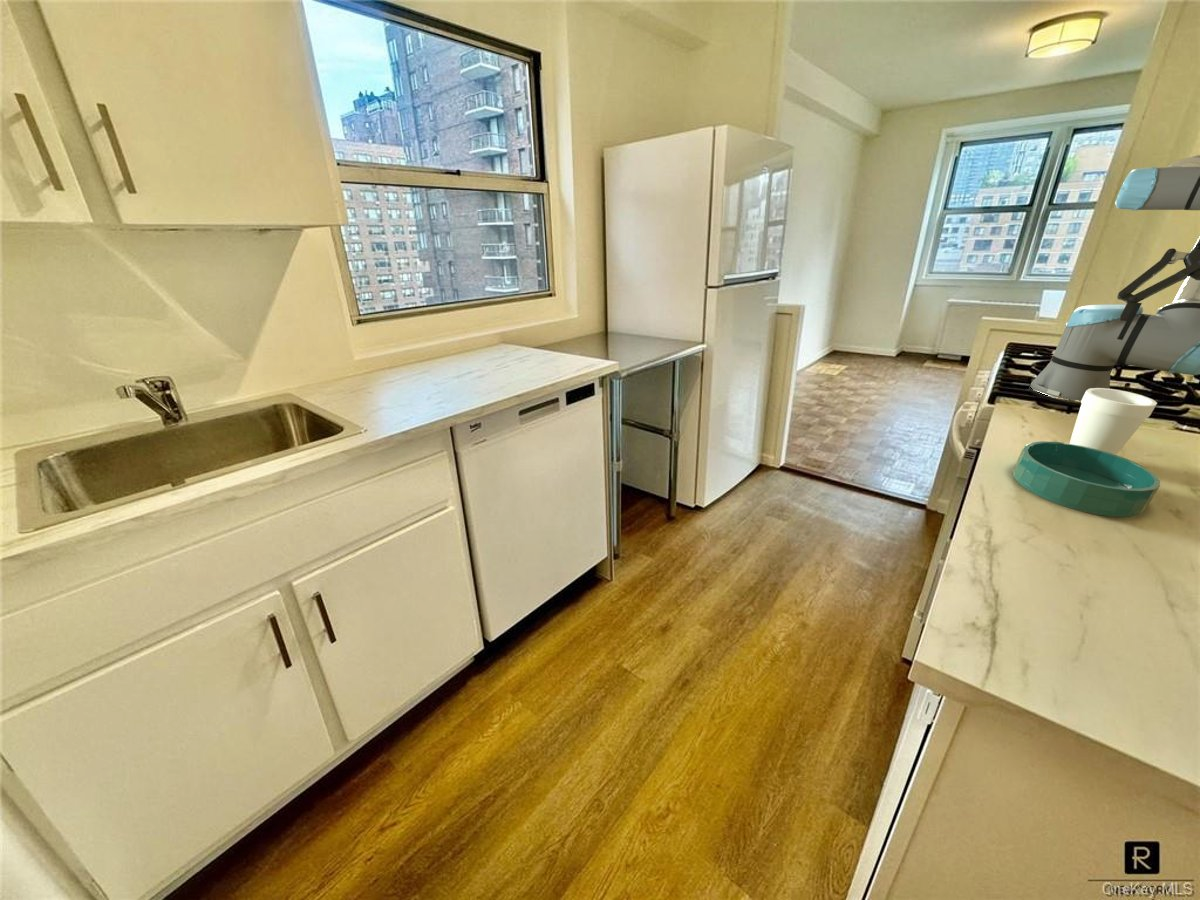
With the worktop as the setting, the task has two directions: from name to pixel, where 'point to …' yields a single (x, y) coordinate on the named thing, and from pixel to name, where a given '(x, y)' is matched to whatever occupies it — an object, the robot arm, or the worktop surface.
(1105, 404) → the foam cup
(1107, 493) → the teal plant saucer
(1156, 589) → the worktop surface
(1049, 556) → the worktop surface
